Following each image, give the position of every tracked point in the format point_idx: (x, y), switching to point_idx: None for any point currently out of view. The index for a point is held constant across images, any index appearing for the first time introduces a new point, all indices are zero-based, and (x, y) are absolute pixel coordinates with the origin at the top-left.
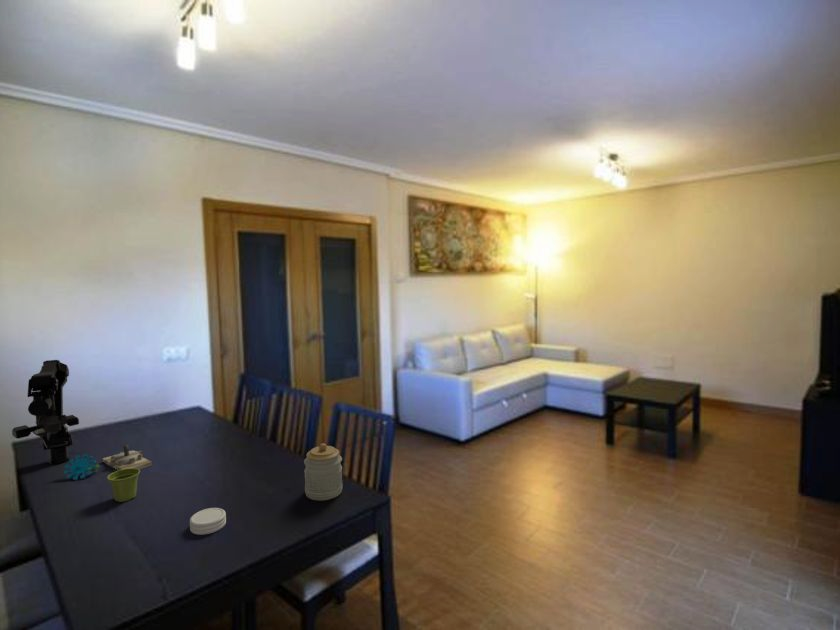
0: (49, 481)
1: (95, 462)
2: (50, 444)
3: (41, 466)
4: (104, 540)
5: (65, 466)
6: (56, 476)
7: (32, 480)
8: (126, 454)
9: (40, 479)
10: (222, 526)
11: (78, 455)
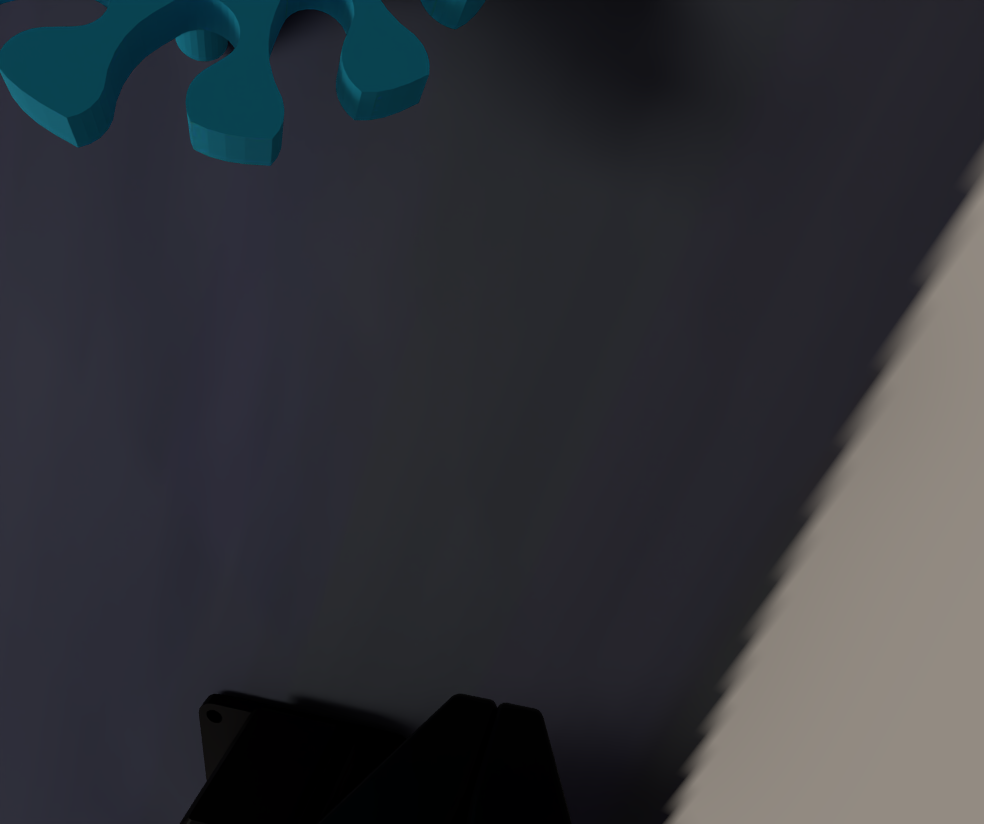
0: (702, 171)
1: None
2: (408, 782)
3: None
4: None
5: (405, 69)
6: (538, 300)
7: (808, 476)
8: None
9: (728, 405)
10: None
11: (18, 78)
